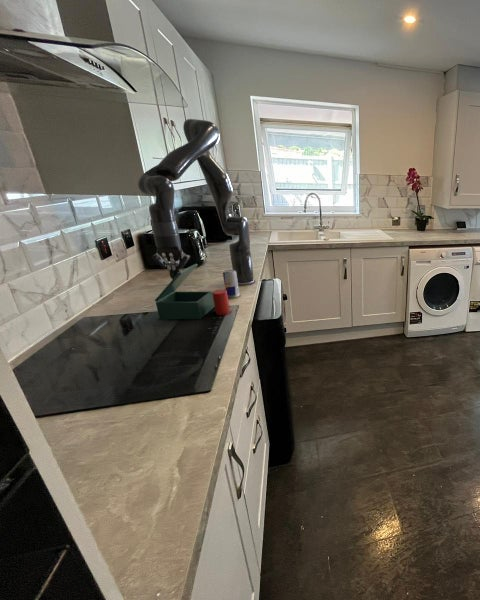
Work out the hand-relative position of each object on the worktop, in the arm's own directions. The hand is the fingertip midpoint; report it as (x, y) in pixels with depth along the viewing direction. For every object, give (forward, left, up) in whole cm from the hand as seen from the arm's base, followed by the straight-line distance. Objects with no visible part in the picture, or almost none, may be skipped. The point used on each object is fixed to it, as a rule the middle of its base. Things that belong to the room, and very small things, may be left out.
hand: (175, 279), depth 123 cm
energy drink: (-19, +12, -14) cm, 27 cm away
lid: (0, +1, -1) cm, 1 cm away
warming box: (0, +2, -14) cm, 14 cm away
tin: (0, +15, -14) cm, 21 cm away
